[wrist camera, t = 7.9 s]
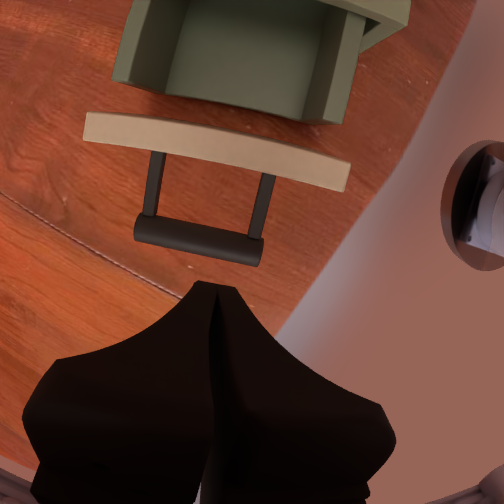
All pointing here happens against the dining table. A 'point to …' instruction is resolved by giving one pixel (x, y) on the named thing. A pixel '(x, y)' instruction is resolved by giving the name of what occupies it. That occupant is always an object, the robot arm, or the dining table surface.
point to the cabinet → (377, 17)
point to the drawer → (232, 100)
